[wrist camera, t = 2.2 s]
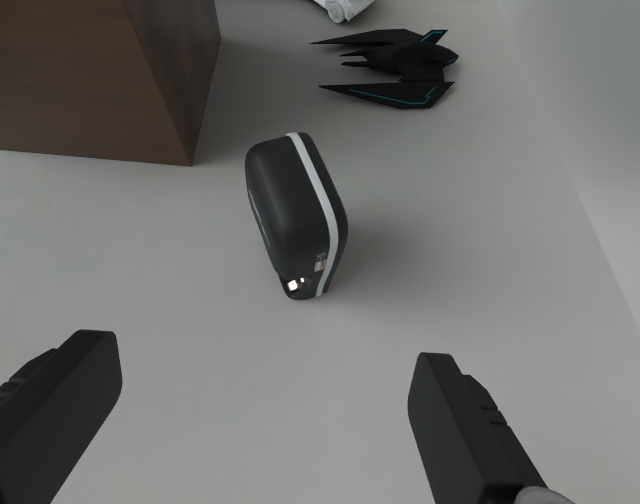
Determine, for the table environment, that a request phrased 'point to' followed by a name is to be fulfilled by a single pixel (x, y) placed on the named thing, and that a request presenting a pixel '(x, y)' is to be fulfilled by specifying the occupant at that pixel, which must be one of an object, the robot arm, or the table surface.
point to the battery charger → (296, 212)
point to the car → (343, 8)
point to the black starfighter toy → (399, 67)
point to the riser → (106, 77)
